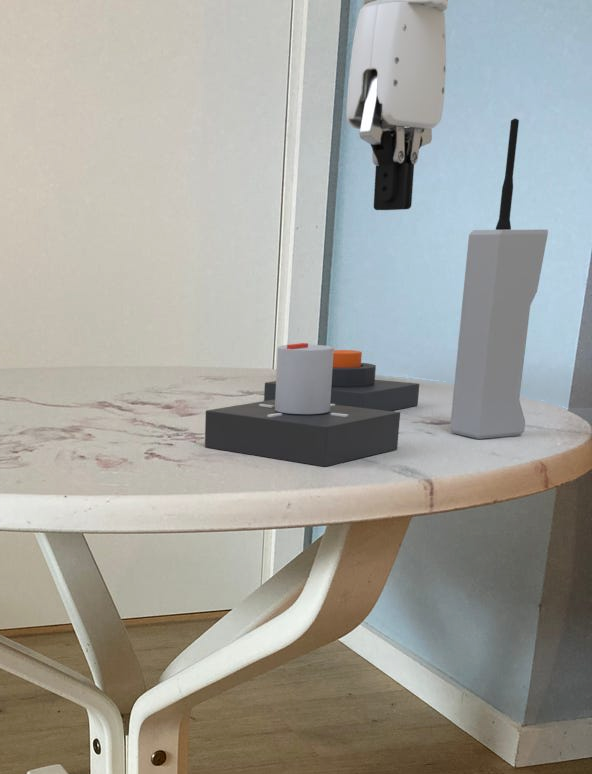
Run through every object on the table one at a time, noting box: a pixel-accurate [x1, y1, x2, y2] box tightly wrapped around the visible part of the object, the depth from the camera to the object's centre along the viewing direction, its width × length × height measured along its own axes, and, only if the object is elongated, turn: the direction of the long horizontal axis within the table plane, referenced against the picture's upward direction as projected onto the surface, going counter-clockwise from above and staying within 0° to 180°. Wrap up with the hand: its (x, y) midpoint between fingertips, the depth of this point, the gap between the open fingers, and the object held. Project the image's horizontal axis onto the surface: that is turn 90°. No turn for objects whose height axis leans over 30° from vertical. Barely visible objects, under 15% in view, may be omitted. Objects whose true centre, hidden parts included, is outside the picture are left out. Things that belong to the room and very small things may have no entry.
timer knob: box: [275, 342, 335, 415], centre depth 88 cm, size 4×4×5 cm
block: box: [263, 362, 420, 411], centre depth 113 cm, size 12×10×4 cm
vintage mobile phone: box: [449, 117, 549, 440], centre depth 92 cm, size 4×5×25 cm
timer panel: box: [204, 399, 401, 468], centre depth 90 cm, size 12×10×3 cm
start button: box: [333, 349, 363, 368], centre depth 112 cm, size 4×4×2 cm
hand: (392, 209), depth 106 cm, fingers closed
